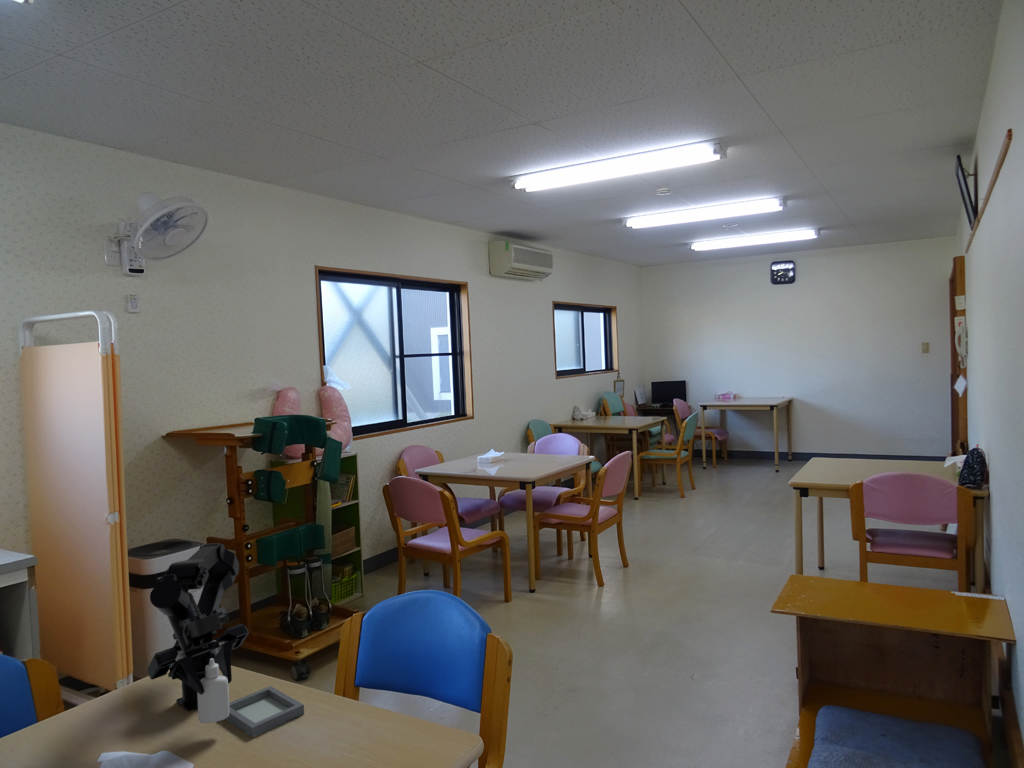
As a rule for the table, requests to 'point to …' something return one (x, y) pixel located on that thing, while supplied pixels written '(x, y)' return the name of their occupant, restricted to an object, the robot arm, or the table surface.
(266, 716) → the gray rectangular tray
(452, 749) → the table surface
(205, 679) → the eye dropper bottle
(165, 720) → the table surface
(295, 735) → the table surface
